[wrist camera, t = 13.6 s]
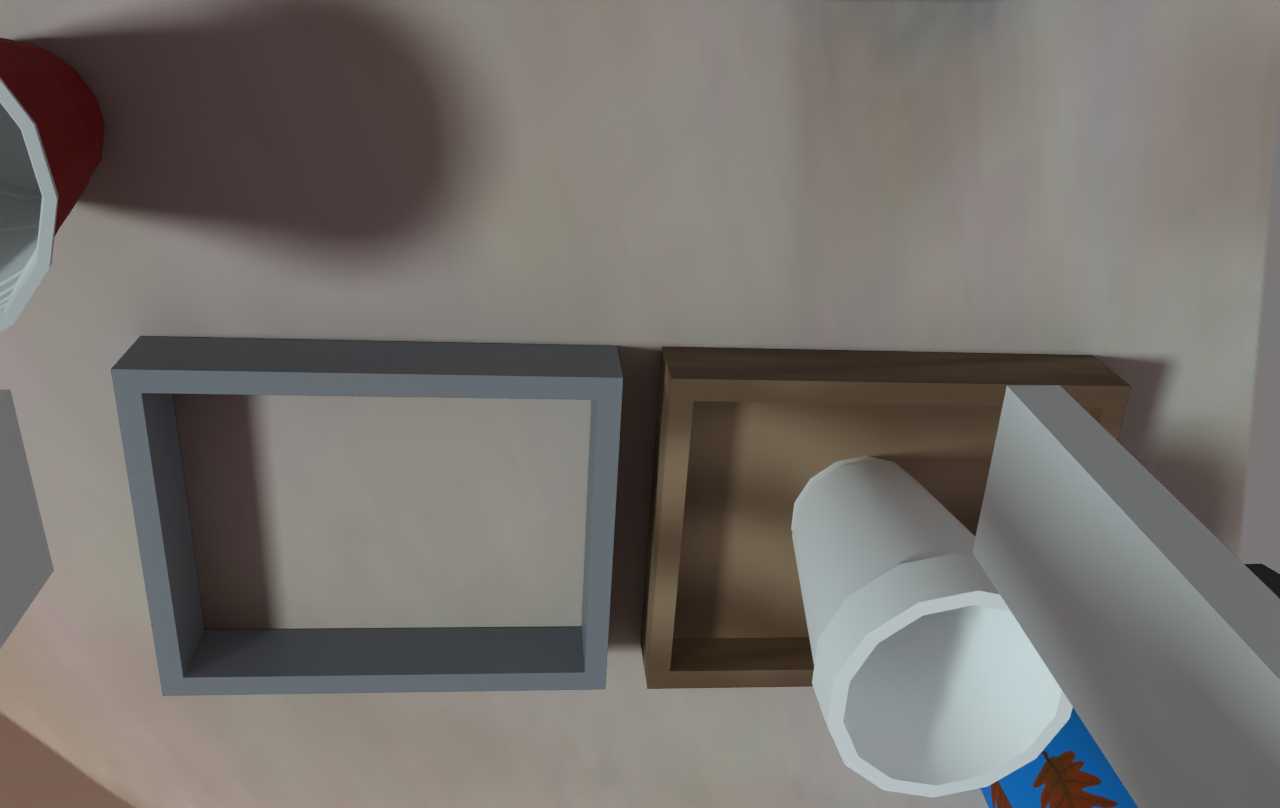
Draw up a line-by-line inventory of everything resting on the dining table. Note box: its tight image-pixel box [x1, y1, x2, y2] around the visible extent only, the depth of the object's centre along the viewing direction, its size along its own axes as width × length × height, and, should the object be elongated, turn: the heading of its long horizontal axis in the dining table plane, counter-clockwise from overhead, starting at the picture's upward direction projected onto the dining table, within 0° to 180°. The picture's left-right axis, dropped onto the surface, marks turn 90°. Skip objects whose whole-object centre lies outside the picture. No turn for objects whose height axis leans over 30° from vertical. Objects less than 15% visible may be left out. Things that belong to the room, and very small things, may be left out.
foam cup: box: [791, 456, 1073, 798], centre depth 45 cm, size 10×9×13 cm
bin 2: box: [641, 347, 1131, 689], centre depth 50 cm, size 16×20×4 cm
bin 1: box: [111, 336, 623, 696], centre depth 48 cm, size 16×20×4 cm
